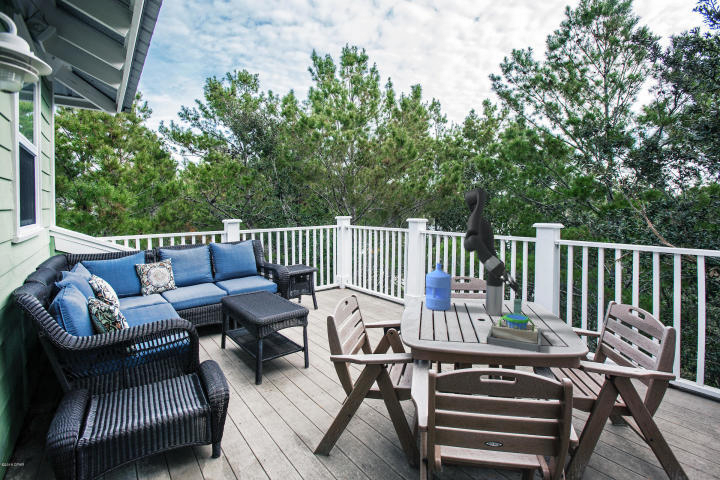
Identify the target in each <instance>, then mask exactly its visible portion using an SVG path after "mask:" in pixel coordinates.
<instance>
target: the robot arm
mask: <svg viewBox="0 0 720 480" xmlns="http://www.w3.org/2000/svg"><path fill="white" fill-rule="evenodd" d="M464 200H465V204H466V206H467V208H468V210H469V214H470V216H469V217H468V220H467V225H466V233H465V236H464V239H463V248H464V251H466V252H468V253H473V252H474V251H475V252H476V253H477V254H476V259H477V260H478V261H479V262H481V264H482V265H483V266H484V267H485V269H486V270H487V271H488V275H487V279H486V282H485V310H484V311H485V315H488V316H492V317H493V316H494V317H500V316H502V315H503V295H504V293H503V291H504V289H503V287H504V284H505V285H506V286H507V287H509V288H510V289H511V290H512V291H513V292H515V293H517V292H518V291H519V290H520V289H519V288H520V285H519V283H517V282H516V281H515V280H514V277H513V276H511V275H510V274H509V272H507V271H506V269H507V267H506V264H505V262H504V261H503V260H501V259H500V258H499V257H498V254H497V252H496V248H495V234H494V233H495V232H494V231H493V226H492V224H491V223H490V221H489V220H488V219H487V218H485V216H483V214H484V210H485V206H486V202H487V193H486V190H485V189H484V188H483V187H477V188H473V189H470V190H467V191H465V194H464Z"/></svg>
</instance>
